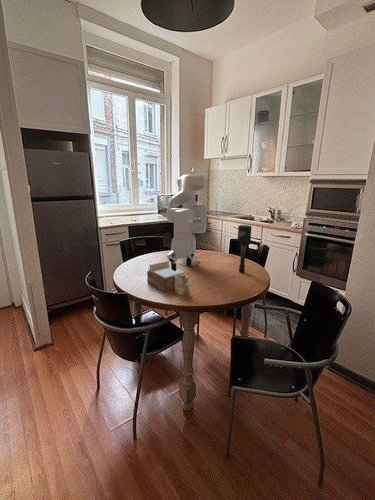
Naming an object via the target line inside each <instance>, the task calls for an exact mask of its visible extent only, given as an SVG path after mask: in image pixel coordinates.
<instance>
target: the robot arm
mask: <svg viewBox="0 0 375 500" xmlns="http://www.w3.org/2000/svg"><path fill="white" fill-rule="evenodd" d="M176 180H177V181H176V184H177V187H178V189H177V190H178V191H177V193H176V194H175V195H173V196H172V197H171V198H170V199H169V201H168V203H167V208H166V216H165V217H166V220H167V221H168V222H169V223H173V238H172V239H171V245H170V251H169V253H168V254H166V257H167V260H168V261H169V263H171V265H170V266H171V269H172V270H173V271H176V269H177V260H180V261H179V265H181V266H184V267H188V268H192V267H193V266H197V264H198V261H197V260H200V259H201V256H199V255H198V256H196V243H197V242H196V241H197V240H196V237H195V236H194V234H203V233H205V232H206V231H207V226H208V225H207V222H208V221H207V220H208V219H207V218H208V217H207V215H208V211H207V210H208V209H207V204H206V203H204V202H196V193H195V192H203V191H205V189H206V185H207V182H206V178H205V176H204V175H202V174H183V175H182V176H180V177H177V179H176ZM180 206H182V207H180Z"/></svg>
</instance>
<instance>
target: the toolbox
mask: <svg viewBox="0 0 375 500" xmlns="http://www.w3.org/2000/svg"><path fill="white" fill-rule="evenodd" d="M146 273H147V274H146V277H147V284H149V285H151V286H152V287H153V288H156V289H157V290H159V291H161V292H162V293H164V294H166V293H169V292H172V291H175V277H172V278H168V279H164V278H162V277H160V276H158V275H156V274H154V273H152V272H150V271H148V270H147V272H146ZM184 275H186V276H187V274H186V273H184Z"/></svg>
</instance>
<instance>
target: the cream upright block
mask: <svg viewBox="0 0 375 500" xmlns="http://www.w3.org/2000/svg"><path fill="white" fill-rule="evenodd" d="M184 274H185V273H184ZM184 274H178V275H177V276H175V290H174V293H175V294H177V295H179V296H184V295H186V294H188V293H189V276H188V275H187V274H186V275H184Z"/></svg>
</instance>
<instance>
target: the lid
mask: <svg viewBox="0 0 375 500" xmlns="http://www.w3.org/2000/svg"><path fill="white" fill-rule="evenodd" d="M147 271H150V272H152V273H154V274H156V275H158V276H160V277H162V278H164V279H168V278H172V277H175V276H177V275H178V274H185V271H183V270H182V269H178V268H176V271H173V270H172V269H171V265H170V261H169V260H168V259H166V260H161V261H157V262H153V263H149V268H148V270H147Z"/></svg>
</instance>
